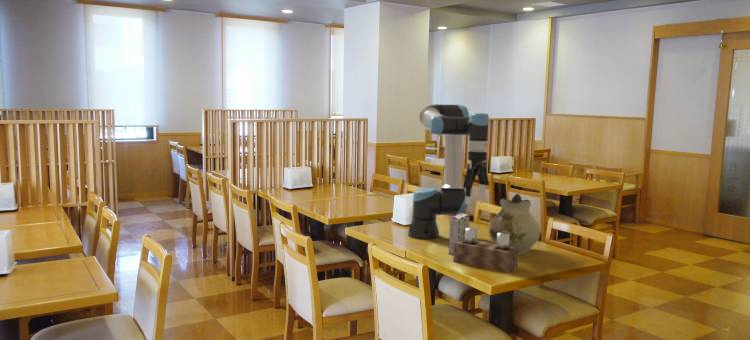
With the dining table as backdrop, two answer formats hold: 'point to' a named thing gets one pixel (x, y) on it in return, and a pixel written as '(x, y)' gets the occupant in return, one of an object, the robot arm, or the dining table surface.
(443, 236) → the dining table surface
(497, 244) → the peg
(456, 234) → the candy bar box
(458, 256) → the walnut bar
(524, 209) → the pitcher
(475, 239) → the peg
